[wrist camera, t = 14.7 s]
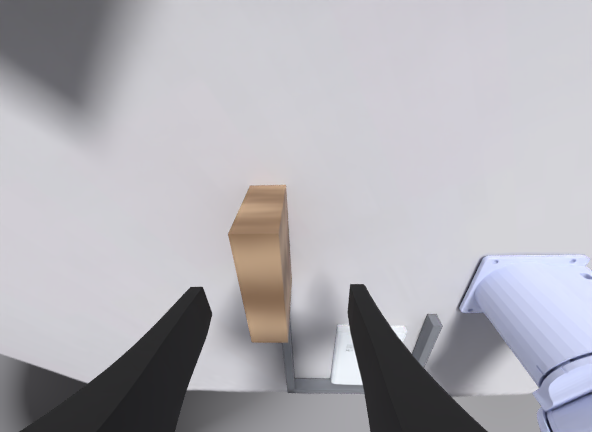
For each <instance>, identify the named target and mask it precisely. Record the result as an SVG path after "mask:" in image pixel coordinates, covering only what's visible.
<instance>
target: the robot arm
mask: <svg viewBox="0 0 592 432" xmlns="http://www.w3.org/2000/svg"><path fill="white" fill-rule="evenodd" d="M589 260H590V258H589V257H587V256H586V255H510V256H486V257H484V258H483V259H482V262H481V264H480V266H479V268H478V270H477V272H476V274H475V276H474V278H473V280H472V282H471V285H470V287H469V289H468V291H467V293H466V295H465V297H464V299H463V301H462V303H461V305H460V308H459V309H460V311H461V312H462V313H484V314H485V315H486V316H487V318H488V319H489V320H490V322H491V323H492V324H493V326H494V327H495V328H496V330H497V331H498V333H499V334H500V335H501V337H502V338H503V339H504V341H505V342H506V343H507V345H508V346H509V348H510V349H511V350H512V352H513V353H514V354H515V356H516V357H517V358H518V360H519V361H520V363H521V364H522V365H523V367H524V368H525V369H526V371H527V372H528V373H529V375H530V376H531V378H532V379H533V380H534V382H535V383H536V384H537V386H538V387H539V389H537V390H536V391H534V392H533V393H532V394H533V395H534V397H535V398H536V400H537V401H538V402H539V404H540V405H541V408H540V409H539V410H538V412H537V419H538V424H539V427H540V430H541V432H592V270H590V269H589V268H588V267H586V265H587V263H588V262H589ZM211 317H212V312H211V309H210V306H209V303H208V300H207V298H206V295H205V292H204V289H203V287H190V288H189V289H188V290H187V291H186V292H185V293H184V294H183V296H182V297H181V298H180V299H179V300H178V301H177V302H176V303H175V304H174V305H173V306H172V307H171V308H170V310H169V311H168V312H167V313H166V314H165V315H164V316H163V317H162V318H161V319H160V320H159V321H158V322H157V323H156V324H155V325H154V326H153V327H152V328H151V329H150V330H149V331H148V332H147V333H146V334H145V335H144V336H143V337H142V338H141V339H140V340H139V341H138V342H137V343H136V344H135V345H134V346H133V347H131V348H130V349H129V350H128V351H127V352H126V353H125V354H124V355H123V356H121V357H120V358H119V359H118V360H117V361H116V362H114V363H113V364H112V365H111V366H110V367H108V368H107V369H106V370H105V371H104V372H102V373H101V374H100V375H98V376H97V377H96V378H95V379H93V380H92V381H91V382H89V383H88V384H87V385H86V386H84V387H83V388H82V389H80V390H79V391H78V392H77V393H75V394H74V395H72V396H71V397H70V398H68V399H67V400H65V401H64V402H63V403H61V404H60V405H58V406H57V407H56V408H54V409H53V410H51V411H50V412H49V413H47V414H46V415H44V416H43V417H41V418H40V419H38V420H37V421H35V422H34V423H32V424H31V425H29V426H27V427H26V428H24V429H23V430H21V431H20V432H175V429H176V425H177V421H178V417H179V414H180V410H181V407H182V403H183V400H184V396H185V393H186V390H187V387H188V384H189V382H190V379H191V376H192V374H193V371H194V368H195V366H196V363H197V361H198V358H199V355H200V353H201V350H202V347H203V345H204V342H205V339H206V336H207V333H208V329H209V326H210V321H211ZM348 318H349V326H350V333H351V338H352V342H353V346H354V350H355V355H356V359H357V363H358V367H359V371H360V375H361V380H362V384H363V389H364V394H365V399H366V406H367V412H368V418H369V425H370V431H371V432H487V431H486V430H485V429H484V428H483V427H482V426H481V425H480V424H479V423H478V422H476V421H475V420H474V419H473V418H472V417H471V416H470V415H469V414H468V413H467V412H466V411H465V410H464V409H463V408H462V407H461V406H460V405H459V404H458V403H456V401H455V400H454V399H453V398H452V397H451V396H450V395H449V394H448V393H447V392H446V391H445V390H444V389H443V388H442V387H441V386H440V385H439V384H438V383H437V382H436V381H435V380H434V379H433V378H432V377H431V375H430V374H429V373H428V372H427V371H426V370H425V369H424V368H423V367H422V365H421V364H420V363H419V362H418V361H417V360H416V359H415V357H414V356H413V355H412V354H411V353H410V351H409V350H408V349H407V348H406V346H405V345H404V344H403V342H402V341H401V340H400V339H399V337H398V336H397V335H396V333H395V332H394V331H393V329H392V328H391V326H390V325H389V323H388V322H387V321H386V319H385V318H384V316H383V315H382V313H381V312H380V310H379V309H378V307H377V306H376V304H375V302H374V301H373V299H372V297H371V296H370V294H369V292H368V290H367V288H366V286H365V285H364V284H350V293H349V303H348Z"/></svg>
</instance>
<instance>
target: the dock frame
mask: <svg viewBox="0 0 592 432" xmlns="http://www.w3.org/2000/svg"><path fill="white" fill-rule="evenodd" d="M442 327H443V326H442V324H441V322H440V320H439V318H438V316H437V314H428V315H427V317H426V320H425V322H424V325H423V328H422V330H421V333H420V336H419V338H418V341H417V343H416V346H415V349H414V351H413V354H412V355H413V356H414V357H415V359H416V360H417V361H418V362H419V363H420V364H421V365H422V367H423V368H424V367H425V364H426V362H427V360H428V358H429V356H430V353H431V351H432V349H433V347H434V344H435V342H436V340H437V338H438V336H439V333H440V331H441V329H442ZM282 346H283V355H284V364H285V373H286V382H287V391H288V393H340V394H364V389H363V385H343V384H333V383H332V382H331V379H304V378H295V377H294V364H293V352H292V339H291V326H290V318H289V336H288V343H282Z"/></svg>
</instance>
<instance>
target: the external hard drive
mask: <svg viewBox="0 0 592 432" xmlns="http://www.w3.org/2000/svg"><path fill="white" fill-rule="evenodd" d="M391 328H392V329H393V331H394V332H395V333H396V335H397V336H398V337H399V339H400V340H401V341H402V342H404V339H405V336H406V333H407V330H406V328H405V326H391ZM331 382H332V383H333V384H343V385H363V384H362V380H361V375H360V371H359V367H358V363H357V359H356V355H355V350H354V346H353V342H352V338H351V333H350V326H349V325H337V332H336V340H335V347H334V355H333V363H332V371H331Z"/></svg>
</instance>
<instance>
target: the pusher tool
mask: <svg viewBox="0 0 592 432" xmlns="http://www.w3.org/2000/svg"><path fill="white" fill-rule="evenodd" d="M228 236H229V240H230V245H231V250H232V254H233V259H234V263H235V268H236V272H237V277H238V281H239V286H240V291H241V295H242V300H243V304H244V309H245V313H246V318H247V322H248V327H249V332H250V336H251V341H252V342H259V343H288V336H289V318H290V301H291V283H292V277H291V260H290V244H289V227H288V210H287V194H286V185H260V186H250V187H249V189H248V191H247V194H246V196H245V198H244V200H243V202H242V205H241V207H240V209H239V211H238V213H237V216H236V218H235V220H234V222H233V224H232V227H231V229H230V231H229V233H228Z"/></svg>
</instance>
